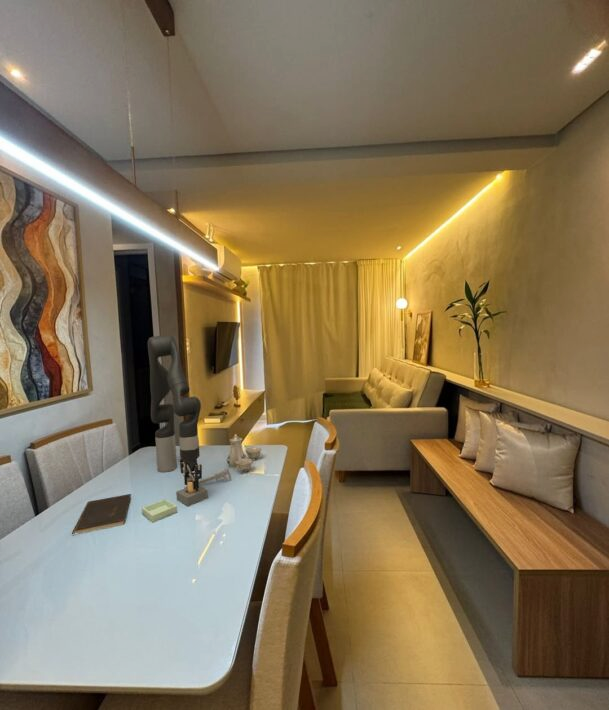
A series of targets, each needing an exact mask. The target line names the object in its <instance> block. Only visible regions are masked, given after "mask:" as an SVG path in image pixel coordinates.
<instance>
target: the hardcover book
mask: <svg viewBox="0 0 609 710" xmlns="http://www.w3.org/2000/svg"><path fill="white" fill-rule="evenodd" d="M131 497H132V494H131V493H129V494H123V495H118V496H117V495H116V496H111V497H107V498H101V499H95V500H89V501H88V502H87V503H86V505H85V506H84V509H83V511H82V512H81V514H80V516H79V518H78V520H77V522H76V524H75V526H74V527H73V529H72V532H71V535H72V534H75V533H81V534H84V533H83V532H85V533H89V531H90V532H94V530H95V531H98V530H99V529H100V530H103V528H105V529H108V527H109V528H113V527H119V526H124V524H125V522H126V521H125V520H126V517H127V513H128V508H129V505H130V500H131Z"/></svg>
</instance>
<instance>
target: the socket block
mask: <svg viewBox="0 0 609 710" xmlns="http://www.w3.org/2000/svg"><path fill="white" fill-rule="evenodd" d="M175 492H176V500H177V501H178V502H179V503H180V504H183V505H184V506H185V507H190V506H193V505H195V504H198V503H200V502H202V501H205V500H208V499H209V490H208V489H207V488H205V487H203V486H201V485H199V488H198V489H196V492H194V493H191V494H189V493H188V487H187V488H185V489H184V488H182V489H180V490H177V491H175Z"/></svg>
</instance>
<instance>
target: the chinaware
mask: <svg viewBox="0 0 609 710" xmlns="http://www.w3.org/2000/svg"><path fill="white" fill-rule="evenodd" d="M242 440H243V438H241V437H240V436H238V435H237V434H236V433H235V434H234V436H233V437H232V438H230V439H229V442H230V451H229V454H228V455H227V457H226V463H227V465H228V467H229V468H231V469H235V471H236V473H242V474H245V473H248V472H249V470H250V469H251V468H252V464H253V462H254V460H251V459H256V460H257V459H258V458H259V456H260V455H261V451H262V447H255V446H253V447H250V448H246V450H245V452H244V450H243V447H242V446H243V445H242ZM245 453H246V454H245ZM238 470H239V471H238ZM247 471H248V472H247Z"/></svg>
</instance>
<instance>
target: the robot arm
mask: <svg viewBox="0 0 609 710" xmlns="http://www.w3.org/2000/svg"><path fill="white" fill-rule="evenodd" d="M147 351H148V360H149V361H148V362H149V371H150V372H149V385H150V397H151V399H150V400H151V401H150V418H151V422H152V424H163V423H165V425H164V426H163V427H160V428H159V429H156V431H155V433H154V435H155V453H156V466H157V467H156V469H157V472H160V473H167V472H171V471H174V470H176V469H177V466H178V465H177V448H176V433H175V415H176V416H177V417H185V416H188V417H187V418H186V419H184V420H183V421H181V422H179V425H178V433H179V441H178V442H179V456H180V457H179V466H180V467H179V469H180V474H181V475H182V476H183V478H184V480H183V481H184V485H185V486H187V477H189V476H192V479H193V489H194V490H196V489H198V488H199V486H200V485H199V481H200V480H203V465H202V464H198V458H200V455H201V453H200V439H199V434H198V433H199V432H198V430H199V429H198V424H199V418H200V413H201V408H202V405H201V401H200V398H198V396H188V397H184V396H186V395H188V394H189V393H190V385H189V384H188V380H187V378H186V376H185V373H184V371H183V366H182V362H181V357H180V353H179V350H178V346H177V343H176V339H175V338H174V336H173V335H172V334H164V335H153V336H151V337H149V338H148V340H147ZM168 356H170V358H171V361H170V362H171V363H170V366H169V368H168V370H167V369H166V368H165V367H164V366H163V364H161V362H160V360H159V358H163V357H168ZM170 392H171V394H172V395H171V396H172V403H162V401H163V400H164V399H165V397H167V395H168V394H169V393H170ZM160 403H162V404H160ZM194 476H195V477H194Z"/></svg>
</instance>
